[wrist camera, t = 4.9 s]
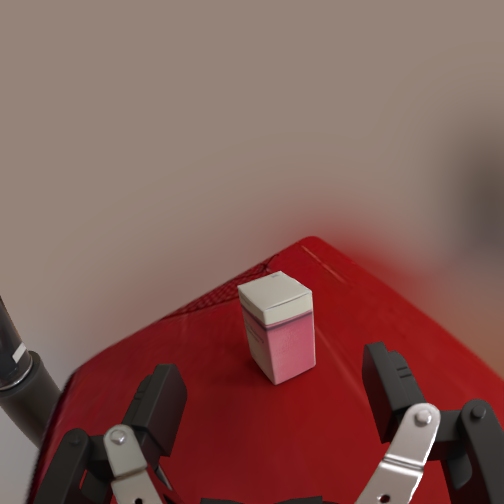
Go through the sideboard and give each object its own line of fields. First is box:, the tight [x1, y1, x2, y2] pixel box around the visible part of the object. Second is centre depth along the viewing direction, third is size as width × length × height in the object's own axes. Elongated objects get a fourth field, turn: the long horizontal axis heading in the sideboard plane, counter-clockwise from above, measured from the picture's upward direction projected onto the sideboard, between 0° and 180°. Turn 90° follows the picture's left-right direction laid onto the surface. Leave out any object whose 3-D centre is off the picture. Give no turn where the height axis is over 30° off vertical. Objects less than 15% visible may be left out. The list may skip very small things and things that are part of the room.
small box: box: [238, 271, 315, 385], centre depth 23 cm, size 5×4×8 cm
